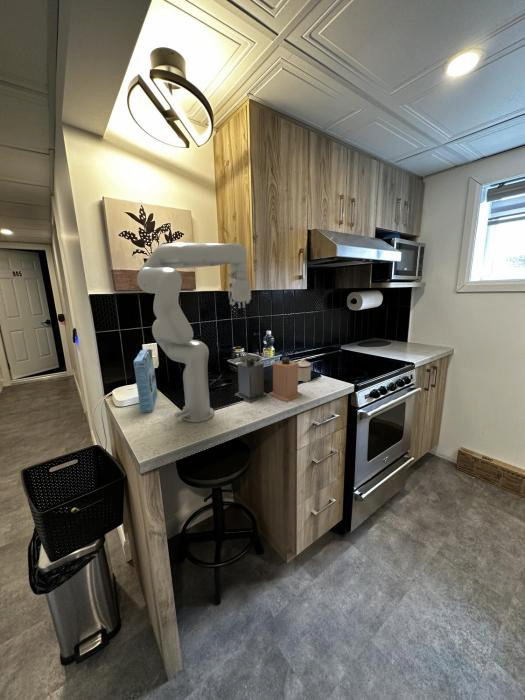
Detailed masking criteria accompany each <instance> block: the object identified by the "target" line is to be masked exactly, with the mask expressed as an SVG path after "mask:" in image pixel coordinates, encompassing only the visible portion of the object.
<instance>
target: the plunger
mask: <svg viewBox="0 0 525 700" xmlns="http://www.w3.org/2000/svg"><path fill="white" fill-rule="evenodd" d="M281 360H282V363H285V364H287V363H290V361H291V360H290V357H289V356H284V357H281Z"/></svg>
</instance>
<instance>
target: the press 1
mask: <svg viewBox="0 0 525 700" xmlns="http://www.w3.org/2000/svg"><path fill="white" fill-rule="evenodd" d="M264 365H265V363H264V362H263V363H262V362H261V361H260V362H257V361H254V364H251V365H249V364H247V361H246V362H242V363H241V362H239V363H237V372H238V373H237V376H238V377H237V379H238V382H237V383H238V392H235V393H234V396H235V397H236V396H238V397H240V398H243V399H244V400H243V401H244V402H246V403H249V404H252V403H254V402H257V401H259V400H261V399H264V398H266V397H268V395H269V393H266V392H264V391H265V390H264V387H265V386H264V381H265V379H264ZM238 397H237V398H238ZM240 398H239V399H240Z"/></svg>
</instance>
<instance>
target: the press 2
mask: <svg viewBox="0 0 525 700" xmlns="http://www.w3.org/2000/svg"><path fill="white" fill-rule="evenodd" d="M297 362H298V361H294V360H293V361H292V360H290V363H287V364H285V363H282V359H281V360H279V361H275V362H272V391H271V392H269V393H268V395H269V396H270V397H272V398H275V399H277V400H279V401H282V402H284V403H288V401H289V402H291V401H292V400H295V399H297V398H300V397H301V396H302V395H303V394H302V392H299V390H298V389H299V381H298V365H299V363H297Z"/></svg>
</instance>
